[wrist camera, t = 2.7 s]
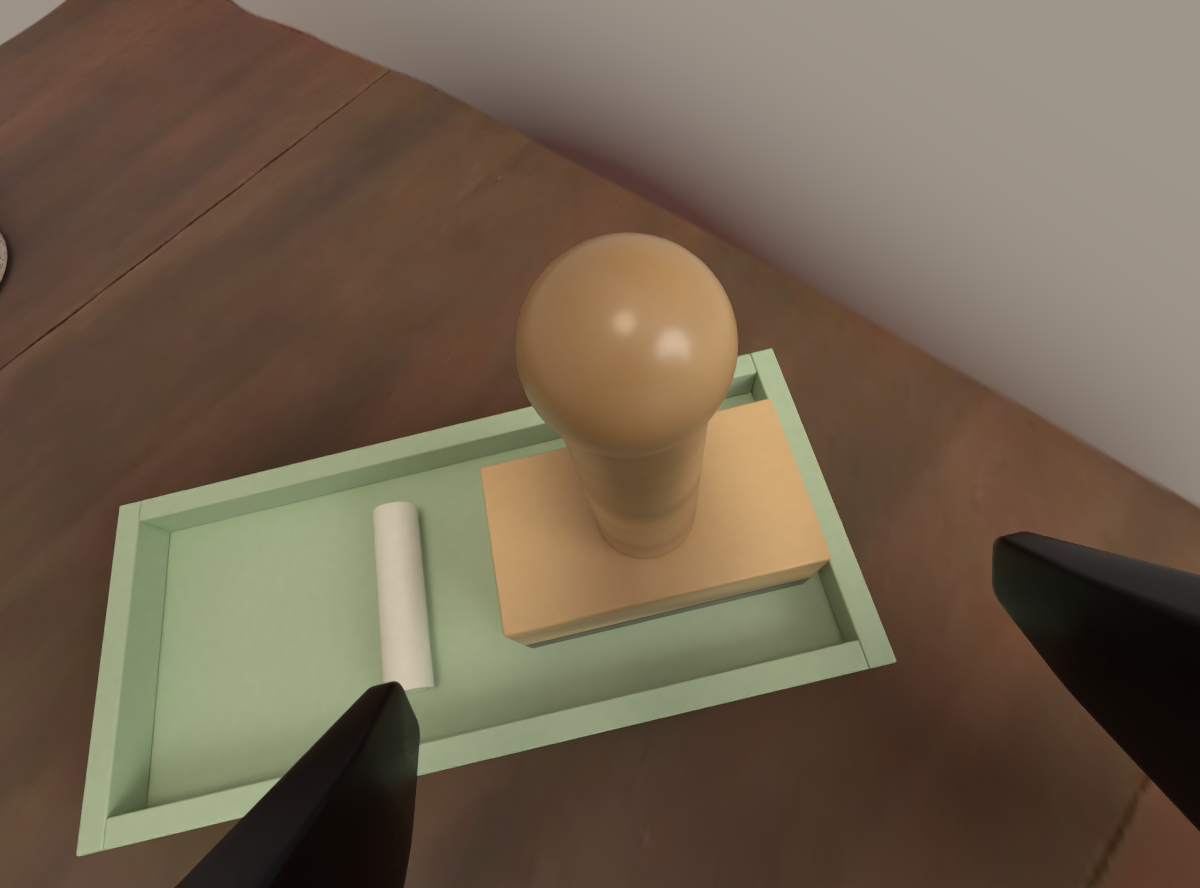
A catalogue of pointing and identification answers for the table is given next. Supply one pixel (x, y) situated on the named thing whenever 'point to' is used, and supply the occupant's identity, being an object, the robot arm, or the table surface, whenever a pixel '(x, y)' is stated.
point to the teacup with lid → (2, 256)
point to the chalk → (402, 597)
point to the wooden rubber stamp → (639, 454)
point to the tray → (351, 627)
